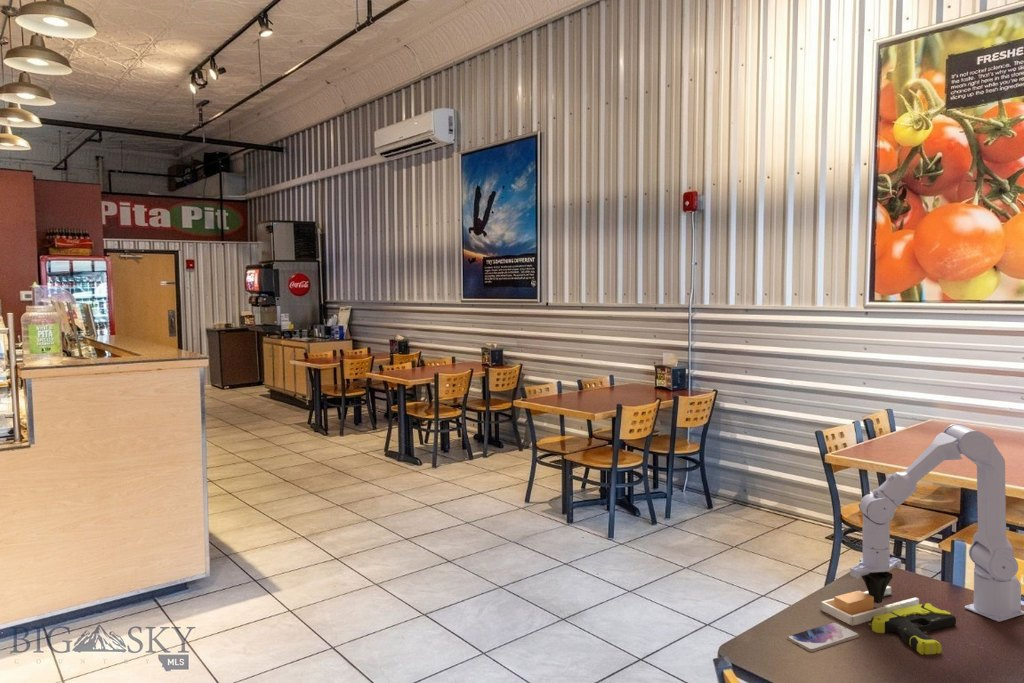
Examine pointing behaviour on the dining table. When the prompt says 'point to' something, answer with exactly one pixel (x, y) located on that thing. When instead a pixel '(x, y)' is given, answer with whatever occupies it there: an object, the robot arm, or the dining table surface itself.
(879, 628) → the stun gun
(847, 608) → the tan wooden cube
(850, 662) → the dining table surface
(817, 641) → the smartphone
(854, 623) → the tray
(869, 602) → the light orange cube
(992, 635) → the dining table surface
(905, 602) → the rail channel
